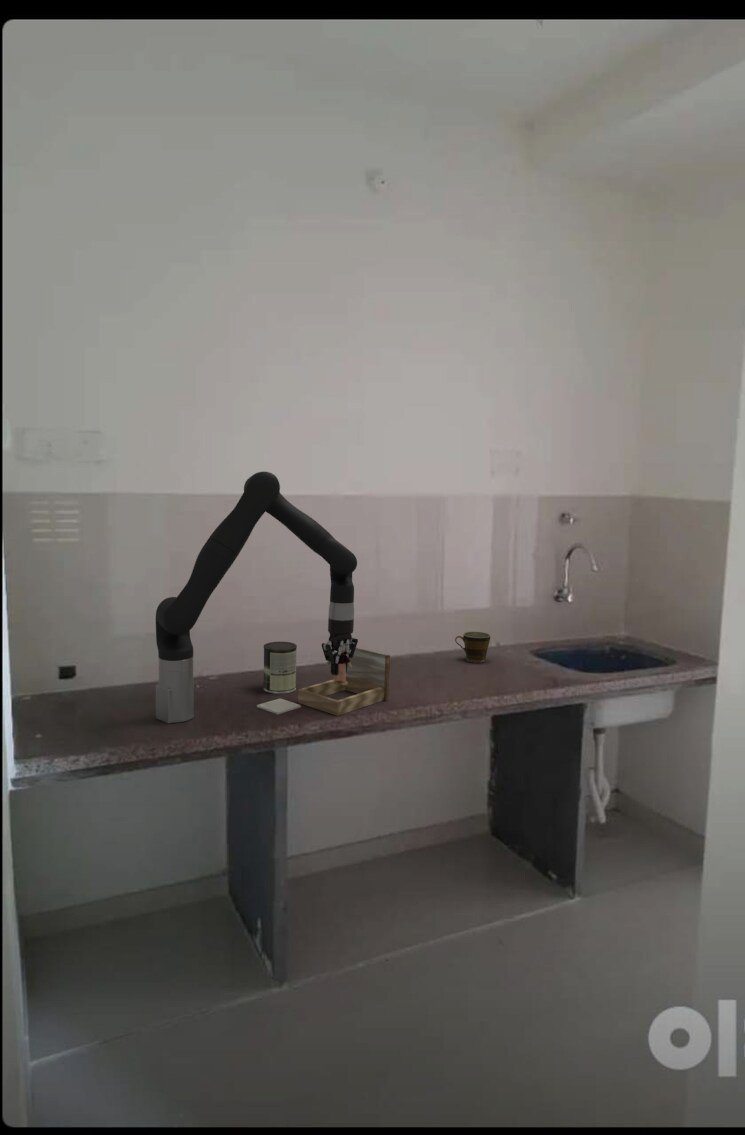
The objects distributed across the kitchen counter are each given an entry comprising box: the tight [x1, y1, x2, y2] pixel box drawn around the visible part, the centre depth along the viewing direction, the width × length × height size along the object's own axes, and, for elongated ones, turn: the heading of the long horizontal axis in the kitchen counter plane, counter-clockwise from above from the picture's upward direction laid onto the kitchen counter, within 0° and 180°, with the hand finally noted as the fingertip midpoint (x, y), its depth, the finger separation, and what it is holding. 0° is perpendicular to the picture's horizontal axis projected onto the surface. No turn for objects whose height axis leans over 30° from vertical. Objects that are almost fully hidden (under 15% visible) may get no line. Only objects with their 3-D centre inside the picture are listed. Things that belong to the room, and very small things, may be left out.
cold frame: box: [297, 646, 391, 717], centre depth 221 cm, size 21×18×14 cm
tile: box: [256, 697, 302, 715], centre depth 214 cm, size 9×9×1 cm
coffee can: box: [262, 641, 298, 695], centre depth 231 cm, size 10×10×14 cm
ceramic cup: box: [454, 631, 491, 664], centre depth 272 cm, size 13×10×10 cm
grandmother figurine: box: [326, 644, 352, 685], centre depth 219 cm, size 8×4×13 cm, turn 84°
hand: (338, 673), depth 219 cm, fingers closed on grandmother figurine, 3 cm apart
